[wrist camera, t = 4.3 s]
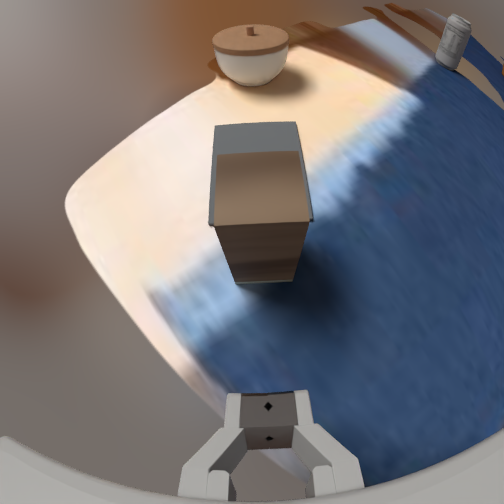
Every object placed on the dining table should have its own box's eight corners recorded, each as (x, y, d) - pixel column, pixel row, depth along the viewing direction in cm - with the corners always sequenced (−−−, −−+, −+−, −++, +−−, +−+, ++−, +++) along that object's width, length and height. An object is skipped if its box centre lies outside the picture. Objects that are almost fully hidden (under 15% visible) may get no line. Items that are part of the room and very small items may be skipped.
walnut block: (292, 281, 24) (309, 221, 14) (235, 284, 25) (213, 225, 15) (287, 230, 26) (298, 150, 16) (235, 233, 27) (217, 154, 16)
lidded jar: (285, 62, 39) (286, 15, 30) (290, 95, 35) (293, 39, 26) (222, 63, 39) (215, 18, 31) (214, 97, 35) (205, 42, 27)
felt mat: (312, 220, 27) (312, 218, 26) (209, 225, 27) (208, 223, 27) (295, 123, 32) (295, 121, 32) (215, 127, 32) (214, 125, 32)
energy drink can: (459, 72, 41) (477, 27, 27) (447, 71, 40) (465, 23, 27) (442, 58, 43) (458, 14, 29) (429, 57, 43) (445, 10, 29)
